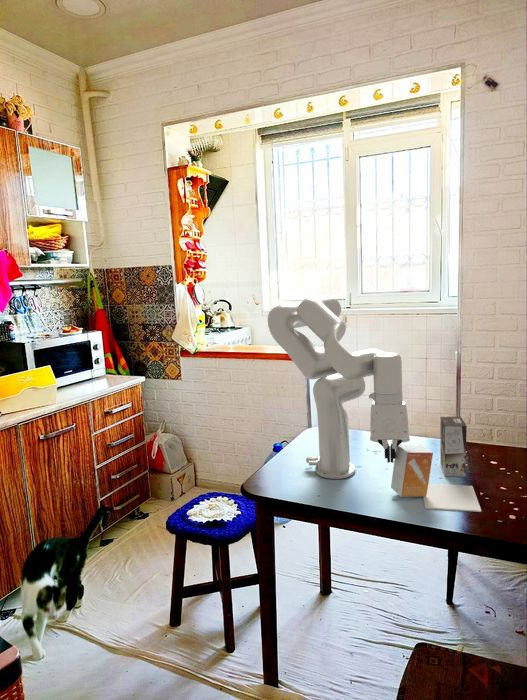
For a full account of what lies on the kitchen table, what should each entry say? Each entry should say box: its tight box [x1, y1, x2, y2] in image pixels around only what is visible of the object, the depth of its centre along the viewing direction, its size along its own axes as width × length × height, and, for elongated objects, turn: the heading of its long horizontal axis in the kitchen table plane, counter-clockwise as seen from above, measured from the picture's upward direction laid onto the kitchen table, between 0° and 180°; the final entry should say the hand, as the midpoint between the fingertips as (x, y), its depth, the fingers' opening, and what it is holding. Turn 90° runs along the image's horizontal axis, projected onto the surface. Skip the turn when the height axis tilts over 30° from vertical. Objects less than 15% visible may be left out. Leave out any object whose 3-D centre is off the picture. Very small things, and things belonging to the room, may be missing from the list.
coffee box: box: [439, 416, 468, 477], centre depth 153 cm, size 9×6×16 cm
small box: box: [390, 444, 434, 498], centre depth 140 cm, size 8×6×13 cm
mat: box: [422, 483, 482, 513], centre depth 138 cm, size 14×14×1 cm
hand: (390, 460), depth 140 cm, fingers closed
